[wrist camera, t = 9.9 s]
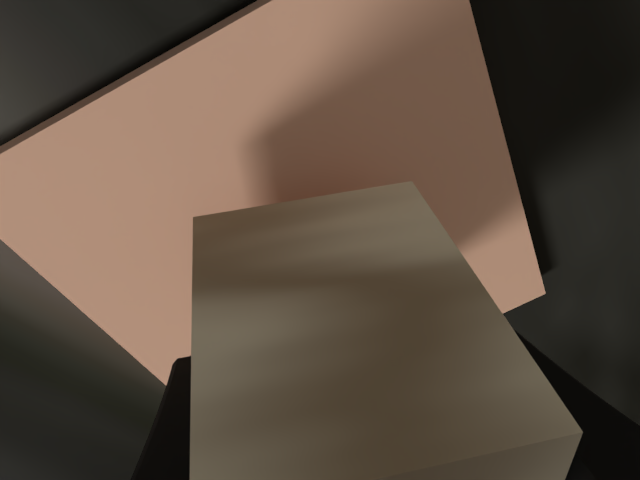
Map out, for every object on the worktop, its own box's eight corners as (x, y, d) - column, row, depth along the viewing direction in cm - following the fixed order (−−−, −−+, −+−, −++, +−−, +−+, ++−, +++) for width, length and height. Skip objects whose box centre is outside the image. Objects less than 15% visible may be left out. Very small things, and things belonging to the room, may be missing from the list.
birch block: (232, 367, 13) (253, 660, 8) (192, 217, 10) (189, 522, 6) (406, 332, 13) (522, 591, 9) (412, 180, 11) (582, 432, 6)
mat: (227, 424, 17) (228, 440, 17) (-48, 173, 11) (-59, 187, 10) (535, 280, 16) (545, 293, 16) (431, -99, 10) (443, -97, 9)
